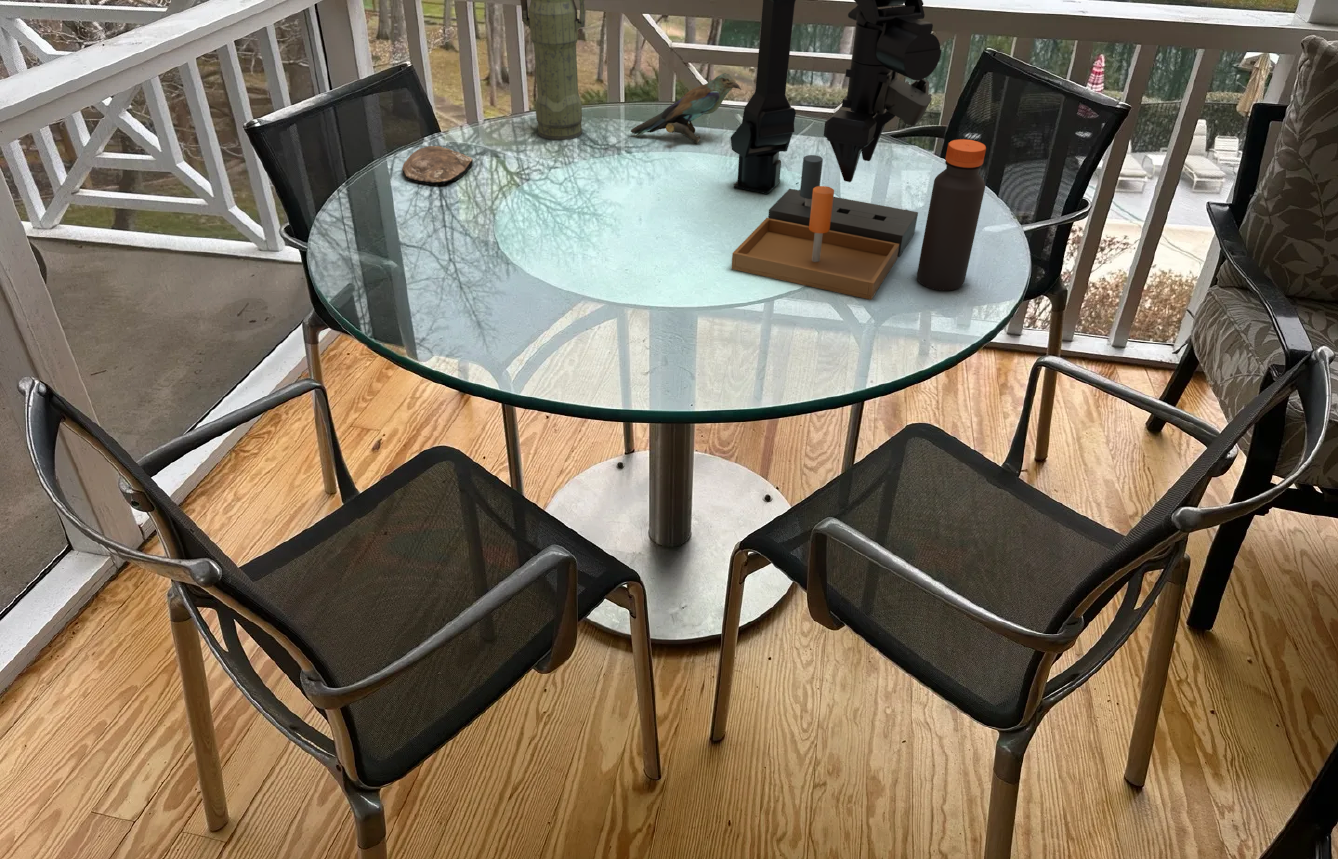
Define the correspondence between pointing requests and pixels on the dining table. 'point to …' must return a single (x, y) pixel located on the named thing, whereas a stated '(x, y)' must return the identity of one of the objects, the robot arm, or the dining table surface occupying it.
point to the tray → (842, 259)
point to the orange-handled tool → (820, 217)
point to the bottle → (952, 217)
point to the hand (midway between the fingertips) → (857, 170)
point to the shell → (436, 165)
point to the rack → (852, 218)
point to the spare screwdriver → (810, 177)
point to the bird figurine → (690, 108)
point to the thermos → (556, 65)
